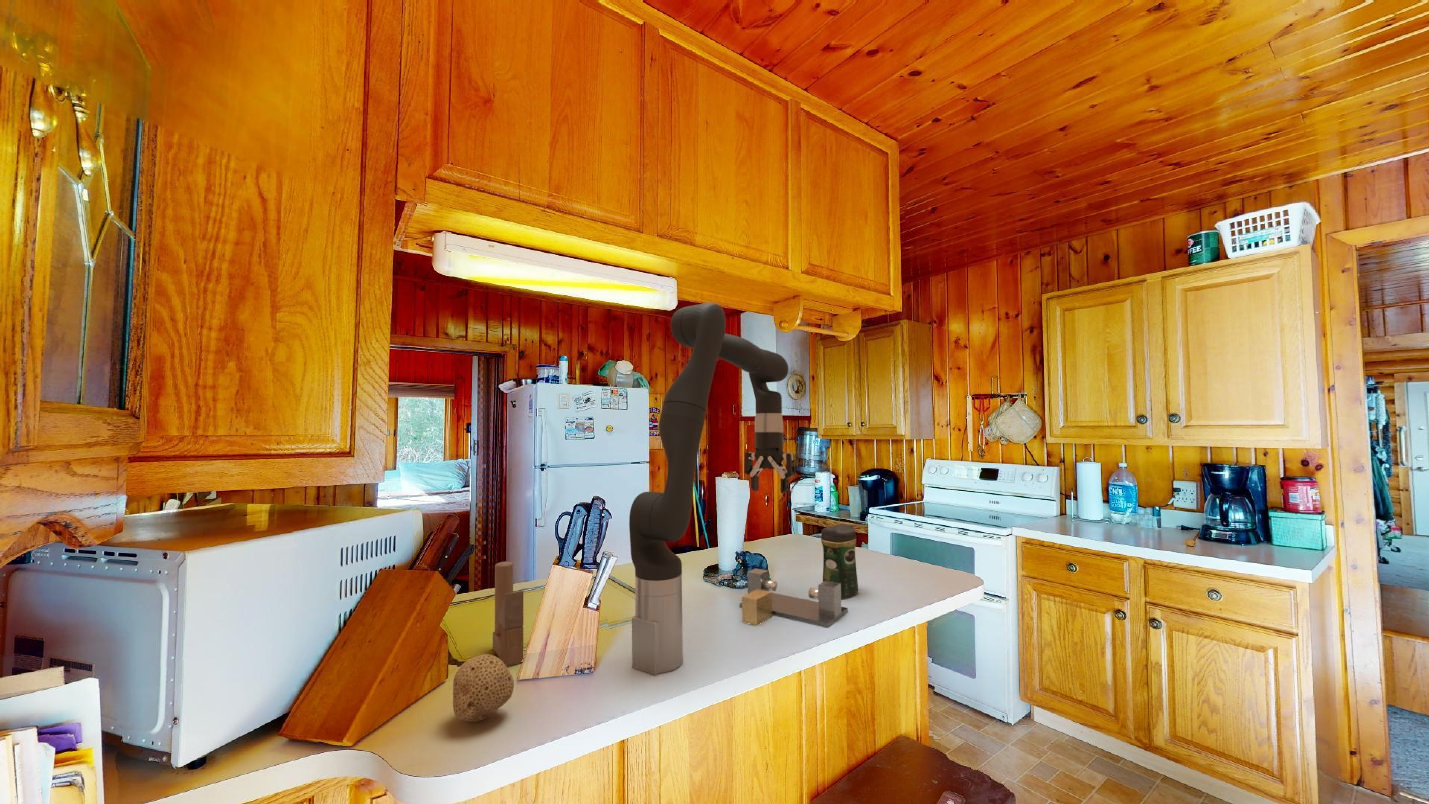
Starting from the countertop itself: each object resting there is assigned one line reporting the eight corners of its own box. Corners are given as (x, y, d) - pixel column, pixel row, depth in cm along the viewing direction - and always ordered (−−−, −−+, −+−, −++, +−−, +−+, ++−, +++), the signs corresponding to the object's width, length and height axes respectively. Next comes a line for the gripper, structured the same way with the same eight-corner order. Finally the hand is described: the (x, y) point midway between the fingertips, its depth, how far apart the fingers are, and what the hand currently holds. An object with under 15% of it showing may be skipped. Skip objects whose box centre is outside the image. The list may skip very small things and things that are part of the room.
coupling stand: (827, 627, 121) (827, 592, 121) (739, 607, 135) (739, 575, 135) (847, 612, 131) (847, 579, 131) (763, 594, 145) (763, 565, 145)
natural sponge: (519, 702, 90) (519, 642, 90) (506, 732, 81) (506, 666, 82) (462, 707, 89) (462, 646, 89) (443, 738, 80) (443, 671, 80)
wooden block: (504, 668, 103) (505, 574, 104) (492, 649, 112) (492, 562, 113) (524, 662, 105) (524, 571, 106) (510, 644, 114) (510, 560, 115)
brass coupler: (771, 617, 128) (771, 591, 129) (756, 626, 123) (756, 599, 123) (757, 613, 131) (757, 589, 131) (742, 622, 125) (741, 596, 125)
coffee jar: (839, 587, 151) (837, 521, 151) (862, 593, 145) (861, 525, 145) (817, 594, 144) (815, 525, 145) (841, 601, 138) (839, 529, 139)
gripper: (738, 430, 142) (739, 491, 142) (786, 430, 134) (786, 495, 133) (753, 430, 148) (753, 489, 148) (799, 430, 140) (800, 492, 139)
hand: (769, 491), depth 140 cm, fingers open, 8 cm apart
